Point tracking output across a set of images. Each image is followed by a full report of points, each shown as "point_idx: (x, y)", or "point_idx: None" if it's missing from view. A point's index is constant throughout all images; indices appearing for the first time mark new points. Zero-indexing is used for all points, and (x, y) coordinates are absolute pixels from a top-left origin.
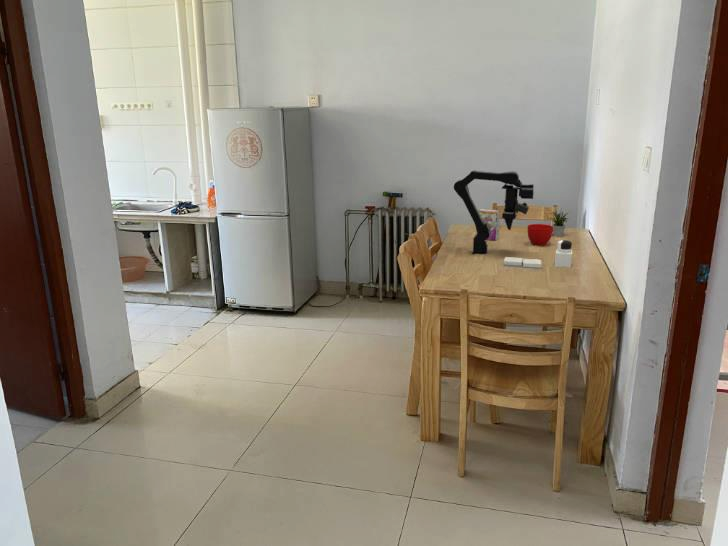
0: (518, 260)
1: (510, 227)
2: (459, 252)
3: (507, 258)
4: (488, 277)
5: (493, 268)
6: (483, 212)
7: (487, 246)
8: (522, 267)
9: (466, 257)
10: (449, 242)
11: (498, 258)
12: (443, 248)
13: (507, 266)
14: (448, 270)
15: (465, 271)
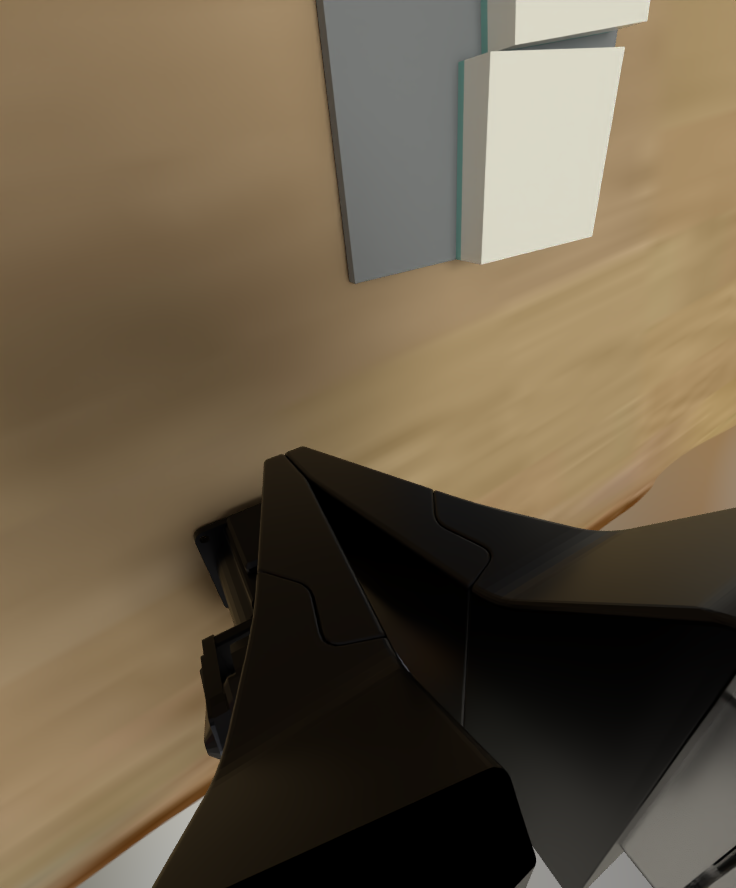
0: (571, 96)
1: (343, 469)
2: None
3: (522, 229)
4: (719, 250)
5: (592, 285)
6: None
7: (243, 548)
8: (608, 40)
9: None
10: (44, 859)
11: (349, 355)
12: None
13: None
14: (619, 458)
15: (633, 393)
